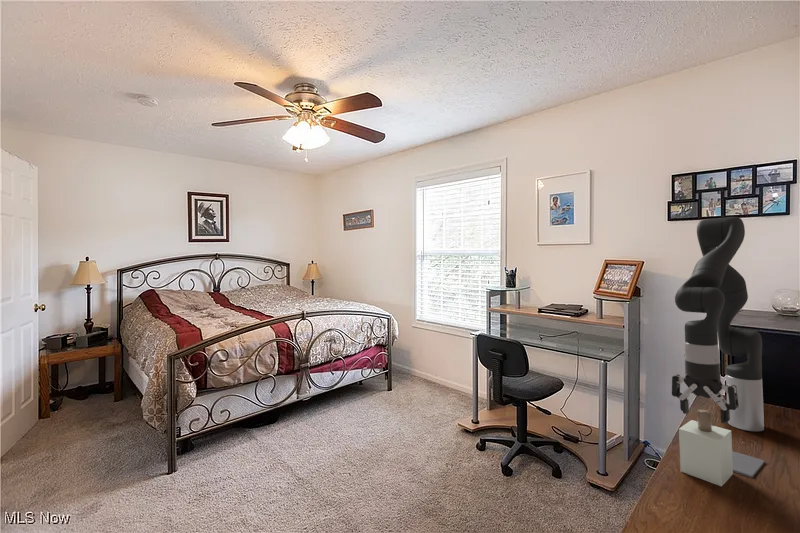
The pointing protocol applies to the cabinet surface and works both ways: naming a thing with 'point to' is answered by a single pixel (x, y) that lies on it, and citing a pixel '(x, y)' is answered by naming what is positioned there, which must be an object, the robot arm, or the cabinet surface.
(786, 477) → the cabinet surface
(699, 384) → the robot arm
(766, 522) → the cabinet surface
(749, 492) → the cabinet surface
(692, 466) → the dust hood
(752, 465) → the mat
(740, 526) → the cabinet surface
